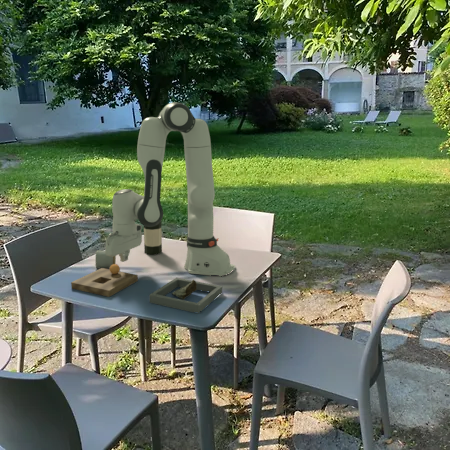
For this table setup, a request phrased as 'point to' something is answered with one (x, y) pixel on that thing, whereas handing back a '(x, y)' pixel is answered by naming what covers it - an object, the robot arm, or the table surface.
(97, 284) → the board
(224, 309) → the table surface
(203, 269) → the robot arm
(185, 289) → the rock sample
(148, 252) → the wine bottle
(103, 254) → the ceramic mug
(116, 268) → the rubber ball
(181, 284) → the slate dish rim
